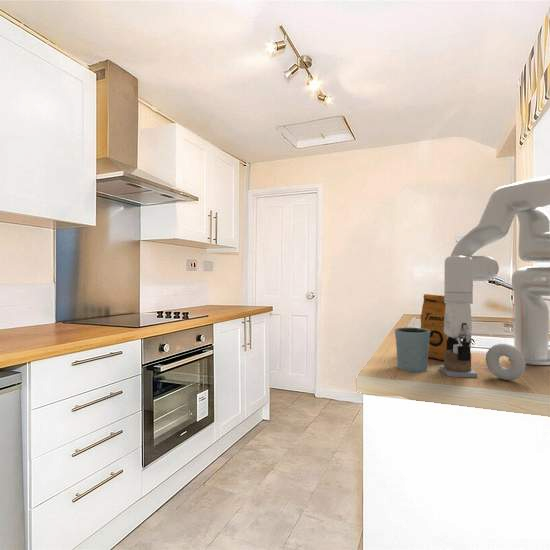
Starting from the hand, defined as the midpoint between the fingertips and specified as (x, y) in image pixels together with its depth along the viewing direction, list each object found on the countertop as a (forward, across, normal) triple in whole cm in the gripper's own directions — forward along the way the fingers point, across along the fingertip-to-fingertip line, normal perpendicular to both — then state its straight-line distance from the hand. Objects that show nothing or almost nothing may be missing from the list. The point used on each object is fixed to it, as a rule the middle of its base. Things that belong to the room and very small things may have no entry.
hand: (457, 356), depth 112 cm
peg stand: (+5, 0, 0) cm, 5 cm away
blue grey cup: (+5, -3, -12) cm, 14 cm away
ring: (+4, 0, 0) cm, 4 cm away
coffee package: (+5, -20, +1) cm, 21 cm away
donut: (+5, +5, +10) cm, 13 cm away
